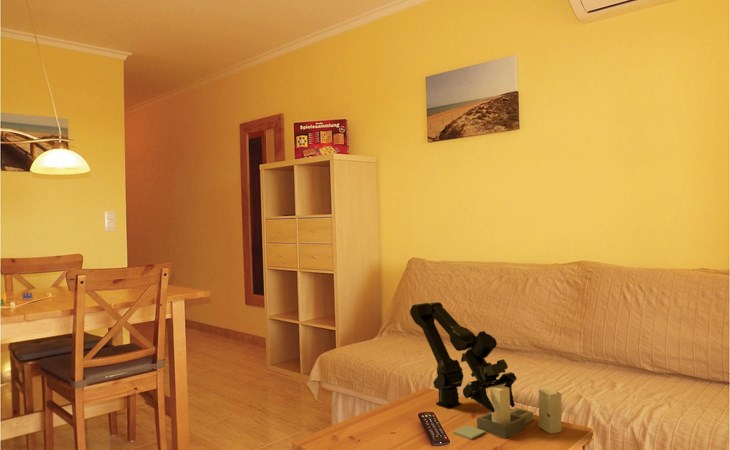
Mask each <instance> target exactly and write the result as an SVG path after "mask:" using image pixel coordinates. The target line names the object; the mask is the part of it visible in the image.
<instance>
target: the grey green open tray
mask: <svg viewBox="0 0 730 450" xmlns="http://www.w3.org/2000/svg"><path fill="white" fill-rule="evenodd" d="M532 421H534V411H529V410H527V409H525V408H520V407H515V408H513V409H510V423H508V424H506V425H502V424H499V423H496V422H493V421H492V412H491V411H489V412H487V413H484V414H483V415H480V416H478V417H477V418H476V425H477V426H476V428H478V429H481V430H484V431H486V433H488V434H490V435H494V436H496V437H498V438H499V437H500V438H503V439H505V440H506V439H508V438H510V437H512V436H514V435H516V434H518V433H520V432H522V431H524V430H526V429H527V428H526V425H527V424H528V423H530V422H532Z"/></svg>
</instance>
